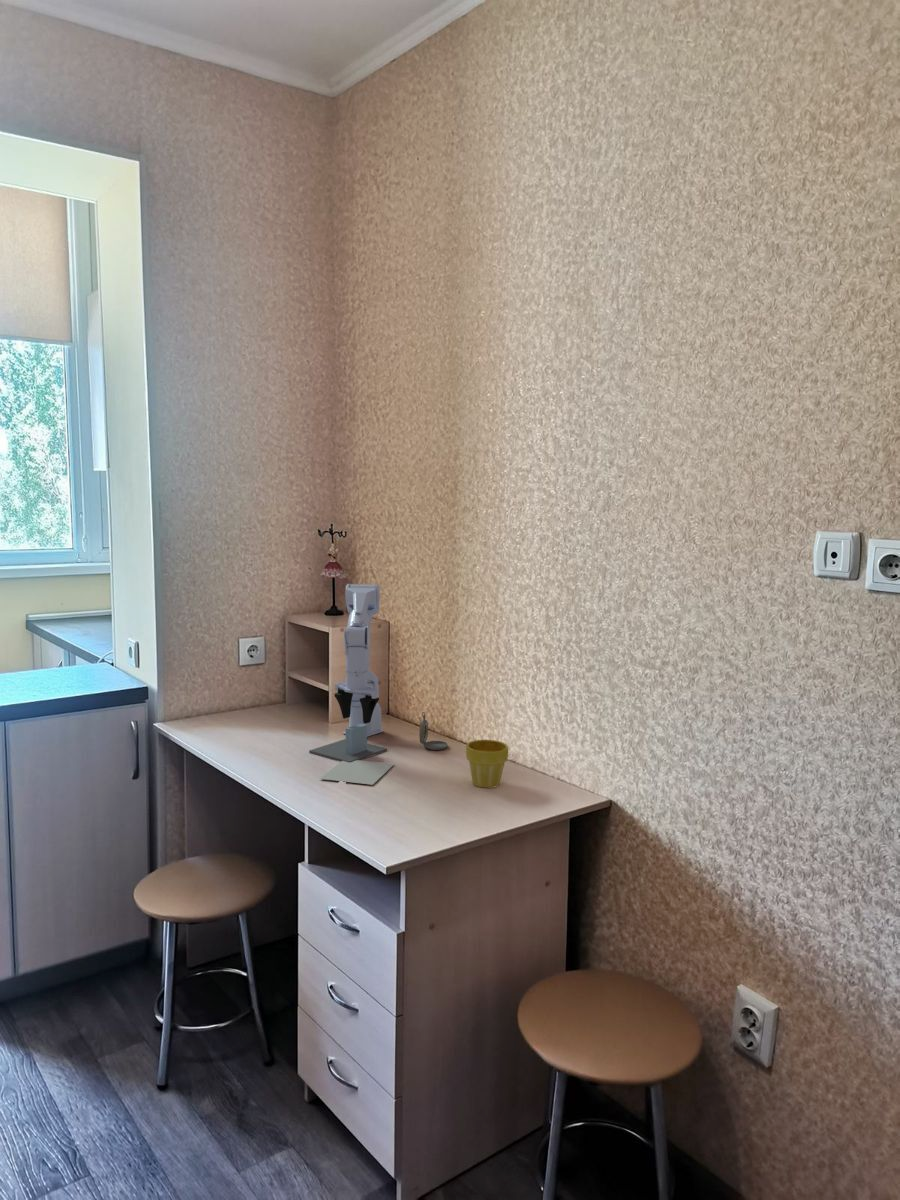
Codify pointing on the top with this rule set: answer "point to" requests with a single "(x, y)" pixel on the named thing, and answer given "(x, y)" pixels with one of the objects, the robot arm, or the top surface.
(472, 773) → the plant pot
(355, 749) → the blue-grey rectangular block
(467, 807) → the top surface
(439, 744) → the pocket watch
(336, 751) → the mat
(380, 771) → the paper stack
